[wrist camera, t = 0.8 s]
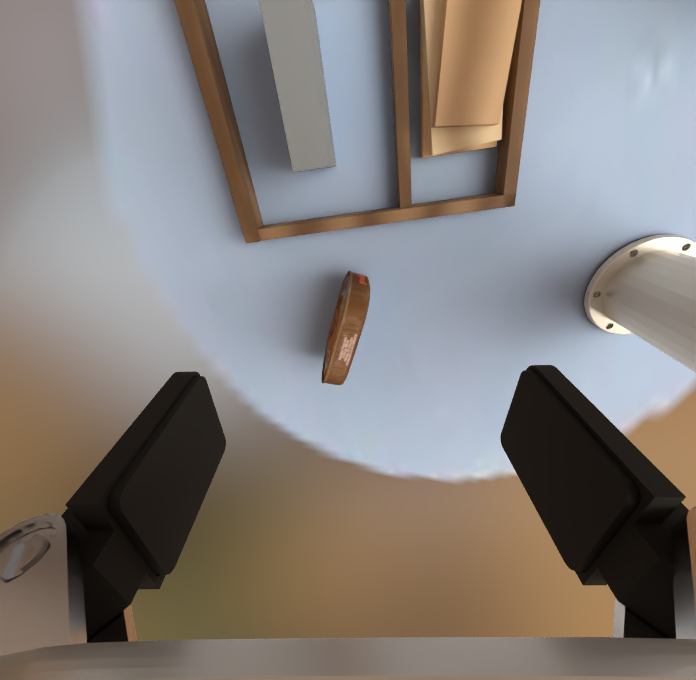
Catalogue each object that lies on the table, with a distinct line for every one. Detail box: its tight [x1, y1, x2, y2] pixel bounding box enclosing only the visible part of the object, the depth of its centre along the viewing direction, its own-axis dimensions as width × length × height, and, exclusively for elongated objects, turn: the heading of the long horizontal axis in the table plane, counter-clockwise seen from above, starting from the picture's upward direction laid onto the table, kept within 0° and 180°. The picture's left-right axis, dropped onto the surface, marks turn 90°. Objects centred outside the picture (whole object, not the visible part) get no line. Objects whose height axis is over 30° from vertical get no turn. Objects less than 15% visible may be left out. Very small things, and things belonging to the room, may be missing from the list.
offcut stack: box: [419, 0, 522, 158], centre depth 27 cm, size 7×13×5 cm, turn 8°
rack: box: [174, 0, 540, 243], centre depth 28 cm, size 29×24×3 cm
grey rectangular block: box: [259, 0, 336, 172], centre depth 26 cm, size 3×12×9 cm, turn 8°
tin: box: [322, 271, 370, 385], centre depth 38 cm, size 15×3×8 cm, turn 165°
